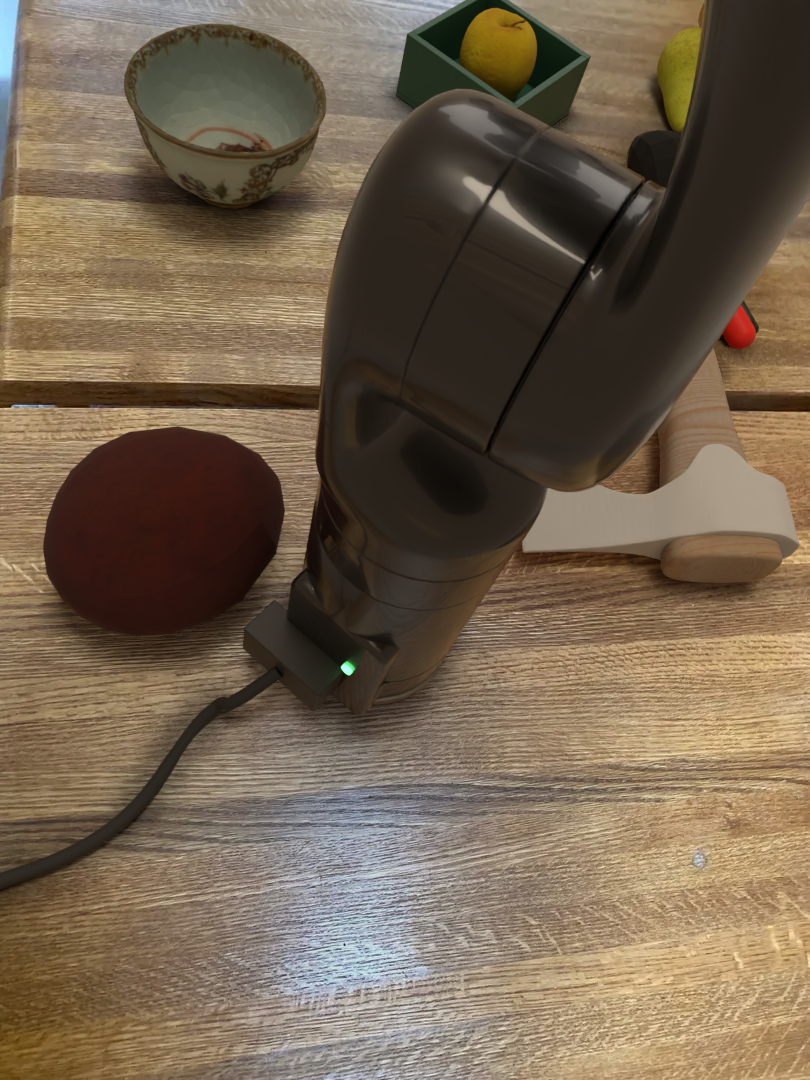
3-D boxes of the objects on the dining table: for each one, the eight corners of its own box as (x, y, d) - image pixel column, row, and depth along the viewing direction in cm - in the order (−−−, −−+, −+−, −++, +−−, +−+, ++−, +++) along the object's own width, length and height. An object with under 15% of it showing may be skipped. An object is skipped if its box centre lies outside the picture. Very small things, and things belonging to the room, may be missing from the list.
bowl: (334, 147, 69) (345, 54, 62) (295, 265, 63) (303, 176, 56) (167, 101, 68) (159, 1, 61) (110, 216, 62) (95, 119, 55)
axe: (730, 208, 66) (821, 554, 52) (705, 259, 71) (782, 590, 57) (501, 197, 65) (532, 547, 51) (491, 249, 70) (516, 584, 56)
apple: (522, 131, 74) (553, 42, 67) (450, 119, 73) (473, 27, 66) (518, 83, 77) (547, -7, 70) (449, 71, 76) (471, -22, 69)
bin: (495, 168, 72) (514, 109, 67) (395, 95, 74) (406, 33, 69) (568, 113, 77) (591, 56, 72) (472, 46, 79) (488, -14, 74)
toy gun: (645, 215, 61) (708, 170, 59) (699, 283, 71) (755, 247, 68) (700, 320, 57) (770, 278, 55) (749, 378, 67) (811, 343, 64)
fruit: (659, 18, 79) (627, 128, 76) (723, 3, 75) (693, 117, 73) (675, 66, 83) (647, 170, 81) (737, 53, 80) (709, 162, 78)
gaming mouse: (658, 264, 70) (680, 227, 67) (618, 139, 77) (636, 99, 73) (728, 267, 71) (753, 231, 68) (683, 144, 78) (704, 105, 74)
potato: (68, 659, 39) (99, 681, 49) (332, 548, 43) (311, 589, 52) (-20, 445, 40) (27, 508, 50) (241, 356, 44) (237, 431, 54)
